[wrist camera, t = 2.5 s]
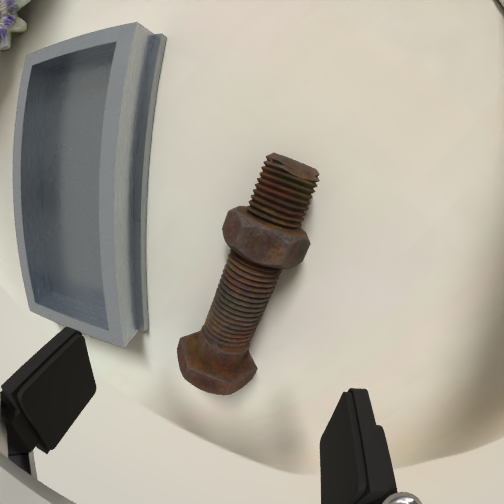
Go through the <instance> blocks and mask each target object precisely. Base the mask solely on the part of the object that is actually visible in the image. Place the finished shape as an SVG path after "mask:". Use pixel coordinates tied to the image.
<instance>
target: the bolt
mask: <svg viewBox="0 0 504 504" xmlns="http://www.w3.org/2000/svg"><path fill="white" fill-rule="evenodd" d="M266 158H267V161H264V164H265V166H264V167H261V168H262V170H263V172H261V173H260V176H261V178H257V180H258V182H259V183H258V184H255V186H256V188H257V189H254V190H253V192H254V195H251V198H252V200H250V201H249V204H250V206H239V207H236V208H234V209H232V210H230V211H228V213H227V216H226V219H225V222H224V225H223V228H222V230H223V236H224V239H225V242H226V243H227V245H228V246H229V247H230V248H231V250H230V252H231V253H230V254H229V256H228V257H229V259H227V264H226V265H225V269H224V270H223V274H222V275H221V277H222V278H221V279H220V283H219V284H218V288H217V290H216V294H215V297H214V300H213V302H212V305H211V308H210V310H209V313H208V315H207V319H206V322H205V324H204V325H203V327H202V329H201V331H199V332H196V333H193V334H190V335H187V336H184V337H181V338H180V340H179V344H178V347H177V355H178V362H179V366H180V371H181V373H182V375H183V377H184V378H185V379H186V380H187V381H188V382H189V383H191V384H192V385H194V386H195V387H197V388H199V389H201V390H203V391H206V392H208V393H213V394H218V395H229V394H232V393H234V392H236V391H237V390H239V389H241V388H242V387H243V386H245V385H246V384H247V383H248V382H249V381H250V380H251V379H252V378H253V376H254V375H255V373H256V371H257V369H258V368H257V366H256V365H255V363H254V361H253V359H252V357H251V355H250V353H249V351H248V348H249V345H250V341H251V338H252V336H253V334H254V332H255V329H256V327H257V325H258V324H259V321H260V319H261V317H262V315H263V312H264V310H265V308H266V306H267V303H268V300H269V299H270V296H271V294H272V292H273V289H274V288H275V284H276V283H277V279H278V278H279V275H280V273H281V270H282V269H290V268H293V267H294V266H296V265H298V264H299V263H300V262H302V261H303V259H304V257H305V255H306V252H307V250H308V248H309V246H310V241H309V239H308V236H307V234H306V232H305V231H304V230H303V229H301V228H300V226H301V223H300V222H301V221H303V217H302V216H304V215H306V214H305V212H304V211H305V210H307V209H308V208H307V206H306V205H308V204H310V202H309V200H308V199H311V198H312V195H311V193H314V192H315V191H314V189H313V188H314V187H317V185H316V183H315V182H318V181H319V179H318V177H317V176H319V173H318V171H317V170H316V169H314V168H312V167H310V166H307V165H305V164H303V163H300V162H298V161H295V160H293V159H290V158H288V157H285V156H282V155H279V154H276V153H272V154H270V155H268V156H266Z"/></svg>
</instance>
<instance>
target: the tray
mask: <svg viewBox="0 0 504 504" xmlns="http://www.w3.org/2000/svg"><path fill="white" fill-rule="evenodd" d="M166 39H167V37H166V36H164V35H163V34H153V33H152V32H151V31H149V30H148V29H146V28H145V27H144V26H142V25H141V24H139V23H138V22H135V23H129V24H124V25H120V26H115V27H111V28H107V29H102V30H99V31H95V32H91V33H88V34H84V35H81V36H77V37H74V38H71V39H68V40H65V41H62V42H59V43H56V44H54V45H51V46H48V47H46V48H43V49H41V50H38V51H36V52H33V53H31V54H28V55H27V56H26V60H25V65H24V69H23V74H22V79H21V85H20V91H19V97H18V104H17V112H16V121H15V132H14V147H13V201H14V217H15V228H16V237H17V245H18V252H19V259H20V265H21V271H22V276H23V281H24V286H25V291H26V296H27V300H28V304H29V308H30V311H32V312H34V313H36V314H38V315H40V316H43V317H45V318H47V319H49V320H52V321H54V322H56V323H59V324H61V325H64V326H66V327H70V328H73V329H76V330H78V331H80V332H81V333H84V334H86V335H89V336H91V337H94V338H97V339H100V340H102V341H105V342H108V343H111V344H114V345H117V346H120V347H123V348H125V347H126V345H127V344H128V343H129V342H130V341H131V339H132V338H133V337H134V336H135V334H136V333H137V332H138V331H142V332H145V331H146V330H147V329H148V327H149V322H148V305H147V281H146V213H147V189H148V172H149V159H150V147H151V137H152V127H153V118H154V110H155V103H156V96H157V89H158V82H159V76H160V70H161V65H162V59H163V54H164V49H165V44H166Z"/></svg>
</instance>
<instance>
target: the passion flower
mask: <svg viewBox="0 0 504 504" xmlns="http://www.w3.org/2000/svg"><path fill="white" fill-rule="evenodd" d="M30 1H31V0H0V51H6V50H10V49H11V48H12V42H11V39H12V37H13V36H14V35H16V34H18V33H23V32H25V31H26V30H27V23H26V22H25V21H24V20H23V19H21V18H19V17H18V15H17V12H18V11H19V10H20V9H21V8H22V7H25V6H26V5H27V4H28V3H29V2H30Z"/></svg>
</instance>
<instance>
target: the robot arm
mask: <svg viewBox="0 0 504 504" xmlns="http://www.w3.org/2000/svg"><path fill="white" fill-rule="evenodd" d="M499 1H500V3H501V4H502V6H503V7H504V0H499ZM1 388H2V391H1V392H0V504H76V503H74V502H72V501H70V500H69V499H67V498H65V497H64V496H62V495H60V494H58V493H57V492H55V491H54V490H52V489H50V488H49V487H47V486H46V485H44V484H43V483H41V482H40V481H38V480H37V474H36V468H35V461H34V453H33V449H34V448H35V446H36V447H37V448H38V449H40V450H42V451H43V452H45V453H46V454H48V452H49V451H50V450H53V449H54V448H55V447H56V446H57V444H58V443H59V442H60V440H61V439H62V437H63V436H64V435H65V433H66V432H67V431H68V429H69V428H70V426H71V425H72V424H73V422H74V421H75V420H76V418H77V417H78V416H79V414H80V413H81V411H82V410H83V409H84V407H85V406H86V405H87V403H88V402H89V401H90V399H91V398H92V397H93V395H94V394H95V392H96V384H95V380H94V376H93V372H92V368H91V364H90V360H89V356H88V352H87V347H86V343H85V339H84V337H83V336H82V333H81V332H80V331H78V330H76V329H73V328H70V327H65V328H64V329H63V330H62V331H60V332H59V333H58V334H57V335H56V336H55V337H54V338H52V339H51V340H50V341H49V342H48V343H47V344H46V345H44V346H43V347H42V348H41V349H40V350H39V351H38V352H37V353H36V354H35V355H33V357H31V358H30V359H29V360H28V361H27V362H26V363H25V364H24V365H23V366H21V367H20V369H18V370H17V371H16V372H15V373H14V374H13V375H12V376H11V377H10V378H9V379H8V380H7V381H6V382H5V383H4V384H3V385H2V386H1ZM320 467H321V504H422V503H421V501H420V500H419V499H418V498H417V497H416V496H414V495H413V494H410V493H407V492H400V493H398V492H397V488H396V482H395V477H394V472H393V468H392V463H391V458H390V454H389V450H388V445H387V441H386V437H385V433H384V430H383V428H382V426H380V425H376V422H375V418H374V414H373V410H372V406H371V402H370V398H369V394H368V391H367V390H366V389H355V388H350V389H349V390H348V392H343V394H342V396H341V398H340V400H339V402H338V404H337V406H336V409H335V411H334V413H333V415H332V417H331V419H330V421H329V423H328V425H327V427H326V429H325V431H324V433H323V435H322V437H321V440H320Z"/></svg>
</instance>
